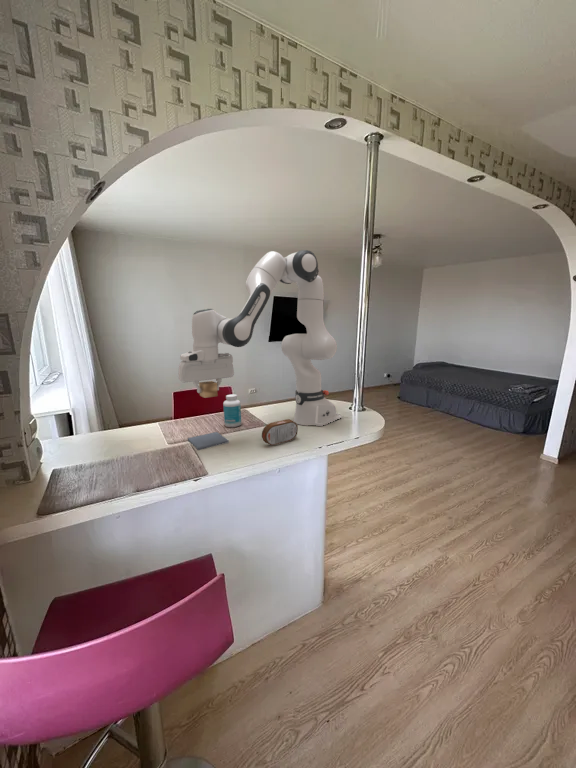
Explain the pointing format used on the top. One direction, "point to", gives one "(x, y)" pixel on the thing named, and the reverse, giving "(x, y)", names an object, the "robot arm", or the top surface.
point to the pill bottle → (232, 411)
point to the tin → (279, 432)
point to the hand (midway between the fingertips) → (208, 391)
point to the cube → (208, 389)
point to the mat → (207, 440)
